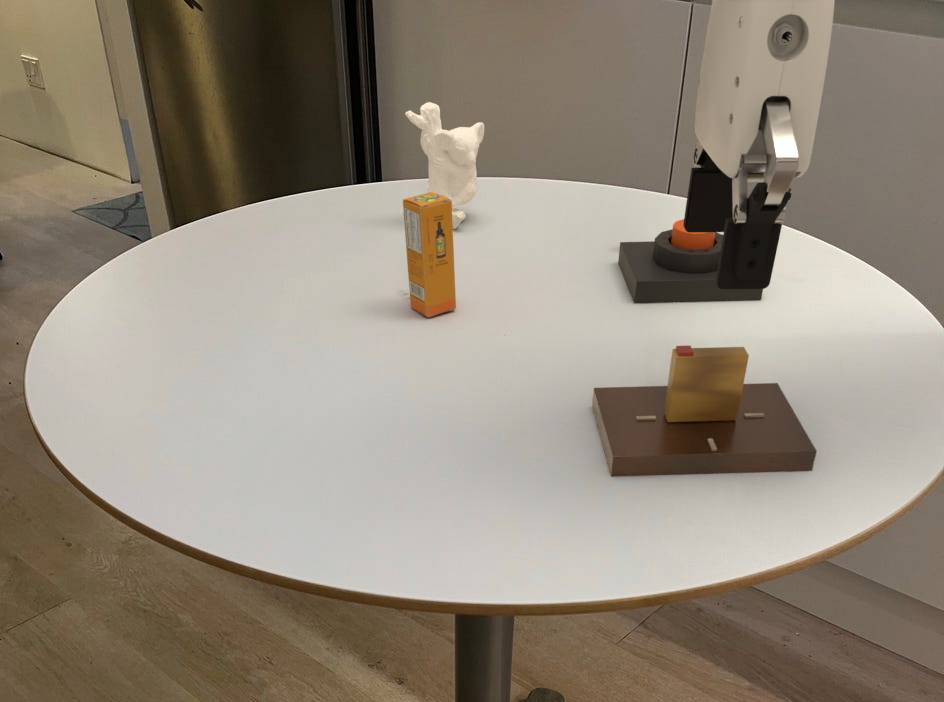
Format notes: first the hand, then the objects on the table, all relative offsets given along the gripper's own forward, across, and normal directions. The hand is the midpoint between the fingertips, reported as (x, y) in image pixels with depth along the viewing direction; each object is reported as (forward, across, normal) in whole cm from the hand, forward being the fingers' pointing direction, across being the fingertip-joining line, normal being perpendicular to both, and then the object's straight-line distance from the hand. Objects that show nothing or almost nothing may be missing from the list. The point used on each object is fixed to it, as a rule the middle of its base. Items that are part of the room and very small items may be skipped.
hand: (723, 257), depth 65 cm
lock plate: (+14, 0, 0) cm, 15 cm away
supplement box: (+15, +27, +19) cm, 36 cm away
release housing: (+14, +32, -6) cm, 36 cm away
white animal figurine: (+15, +50, +17) cm, 55 cm away
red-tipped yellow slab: (+11, 0, 0) cm, 11 cm away
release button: (+11, +32, -6) cm, 34 cm away
